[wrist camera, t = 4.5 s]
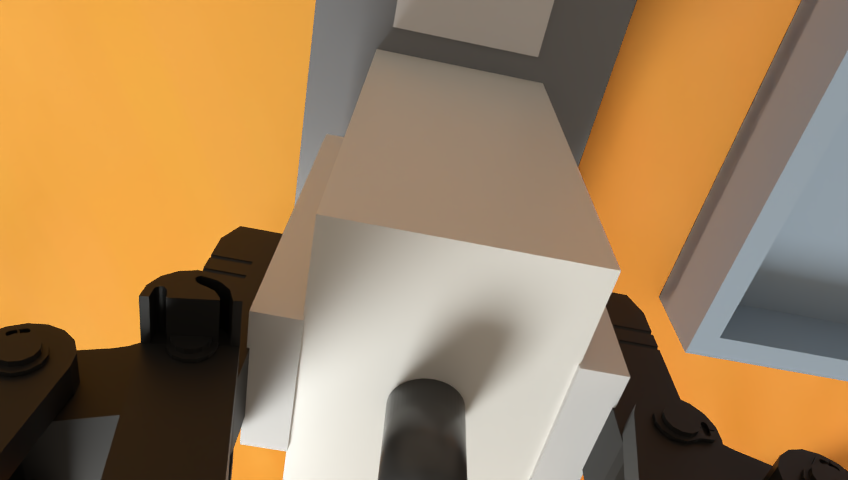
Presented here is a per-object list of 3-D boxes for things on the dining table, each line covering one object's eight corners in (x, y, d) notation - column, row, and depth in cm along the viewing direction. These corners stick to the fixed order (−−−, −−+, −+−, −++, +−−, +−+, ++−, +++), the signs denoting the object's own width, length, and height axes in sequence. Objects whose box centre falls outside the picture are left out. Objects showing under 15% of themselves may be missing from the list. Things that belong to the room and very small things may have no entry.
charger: (384, 28, 17) (288, 287, 7) (533, 60, 17) (655, 352, 7) (352, 225, 20) (255, 602, 10) (479, 248, 20) (510, 638, 10)
